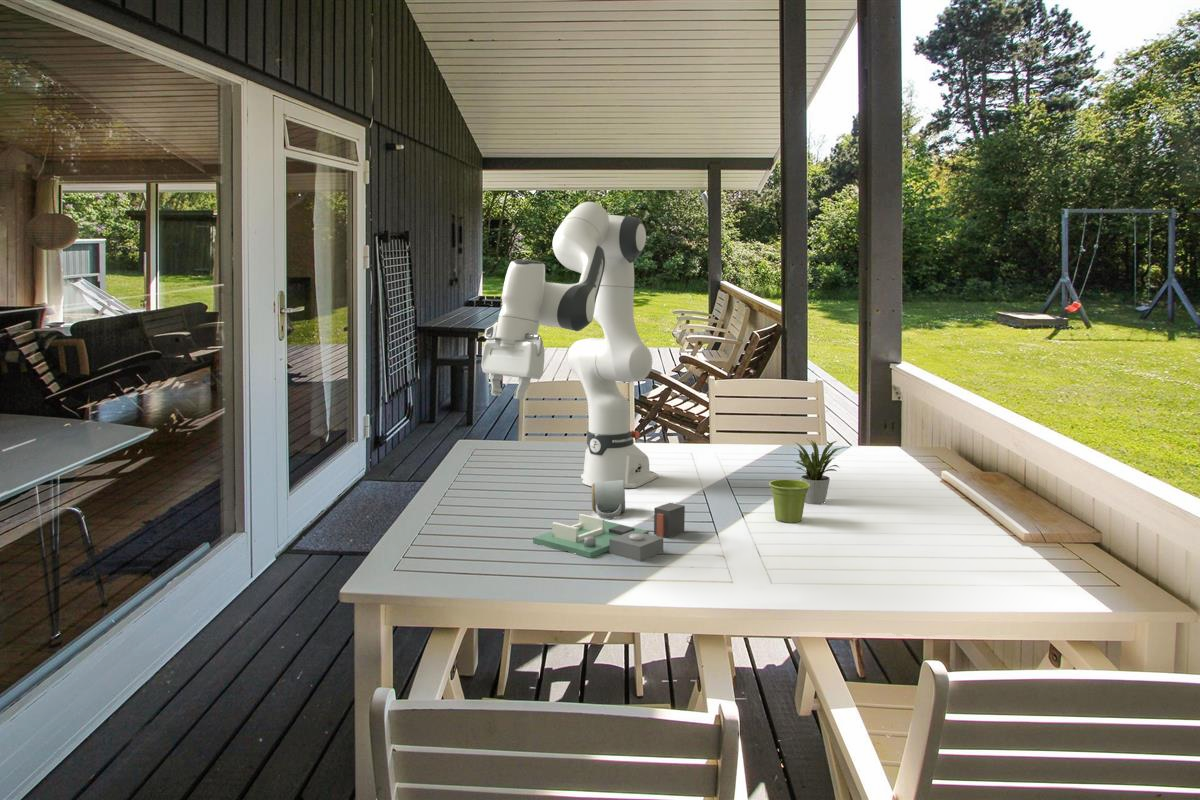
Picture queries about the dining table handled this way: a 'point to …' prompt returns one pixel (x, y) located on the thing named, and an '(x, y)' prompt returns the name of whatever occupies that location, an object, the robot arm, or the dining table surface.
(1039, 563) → the dining table surface
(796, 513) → the plant pot
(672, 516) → the plug
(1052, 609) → the dining table surface
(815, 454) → the house plant
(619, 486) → the ceramic mug
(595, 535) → the board
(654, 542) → the gray push button box
